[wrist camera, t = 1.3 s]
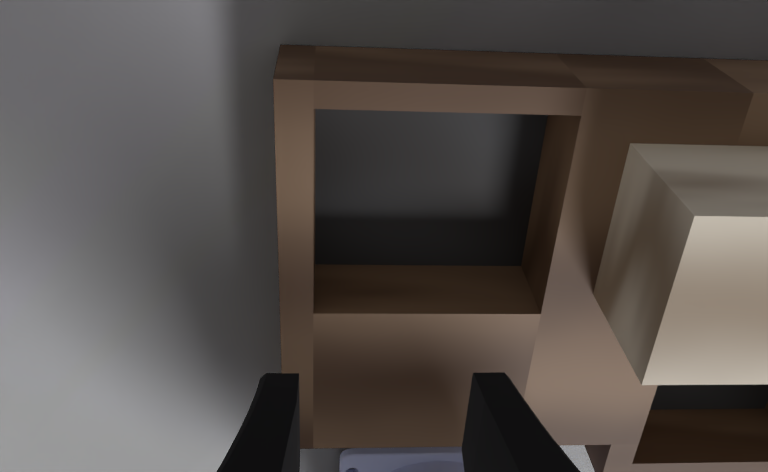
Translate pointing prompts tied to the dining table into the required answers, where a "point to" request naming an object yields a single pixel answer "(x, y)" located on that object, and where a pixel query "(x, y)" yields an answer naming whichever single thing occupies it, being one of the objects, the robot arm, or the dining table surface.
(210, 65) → the dining table surface
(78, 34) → the dining table surface
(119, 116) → the dining table surface
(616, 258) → the birch block
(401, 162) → the trap board
